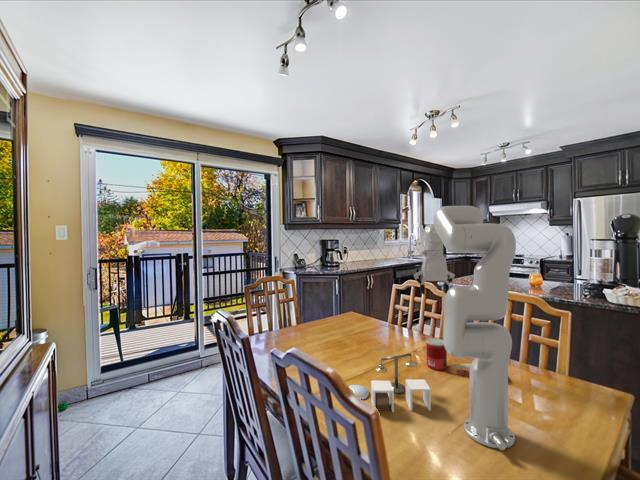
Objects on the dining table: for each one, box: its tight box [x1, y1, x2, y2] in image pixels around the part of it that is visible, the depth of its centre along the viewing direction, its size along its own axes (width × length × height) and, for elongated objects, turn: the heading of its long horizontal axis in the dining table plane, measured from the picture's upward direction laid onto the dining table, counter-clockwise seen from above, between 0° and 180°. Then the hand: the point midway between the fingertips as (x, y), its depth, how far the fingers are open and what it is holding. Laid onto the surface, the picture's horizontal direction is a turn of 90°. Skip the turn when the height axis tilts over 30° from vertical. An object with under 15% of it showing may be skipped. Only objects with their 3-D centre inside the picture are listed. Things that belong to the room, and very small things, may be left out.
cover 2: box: [404, 378, 432, 412], centre depth 100 cm, size 6×6×7 cm
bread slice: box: [447, 362, 511, 382], centre depth 120 cm, size 18×18×4 cm
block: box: [375, 392, 390, 411], centre depth 99 cm, size 4×4×4 cm
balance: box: [374, 353, 418, 395], centre depth 110 cm, size 6×15×13 cm, turn 87°
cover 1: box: [370, 380, 395, 413], centre depth 99 cm, size 6×6×7 cm
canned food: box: [426, 337, 448, 371], centre depth 128 cm, size 8×8×11 cm
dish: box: [348, 384, 370, 401], centre depth 108 cm, size 9×9×1 cm
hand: (434, 293), depth 129 cm, fingers open, 9 cm apart
